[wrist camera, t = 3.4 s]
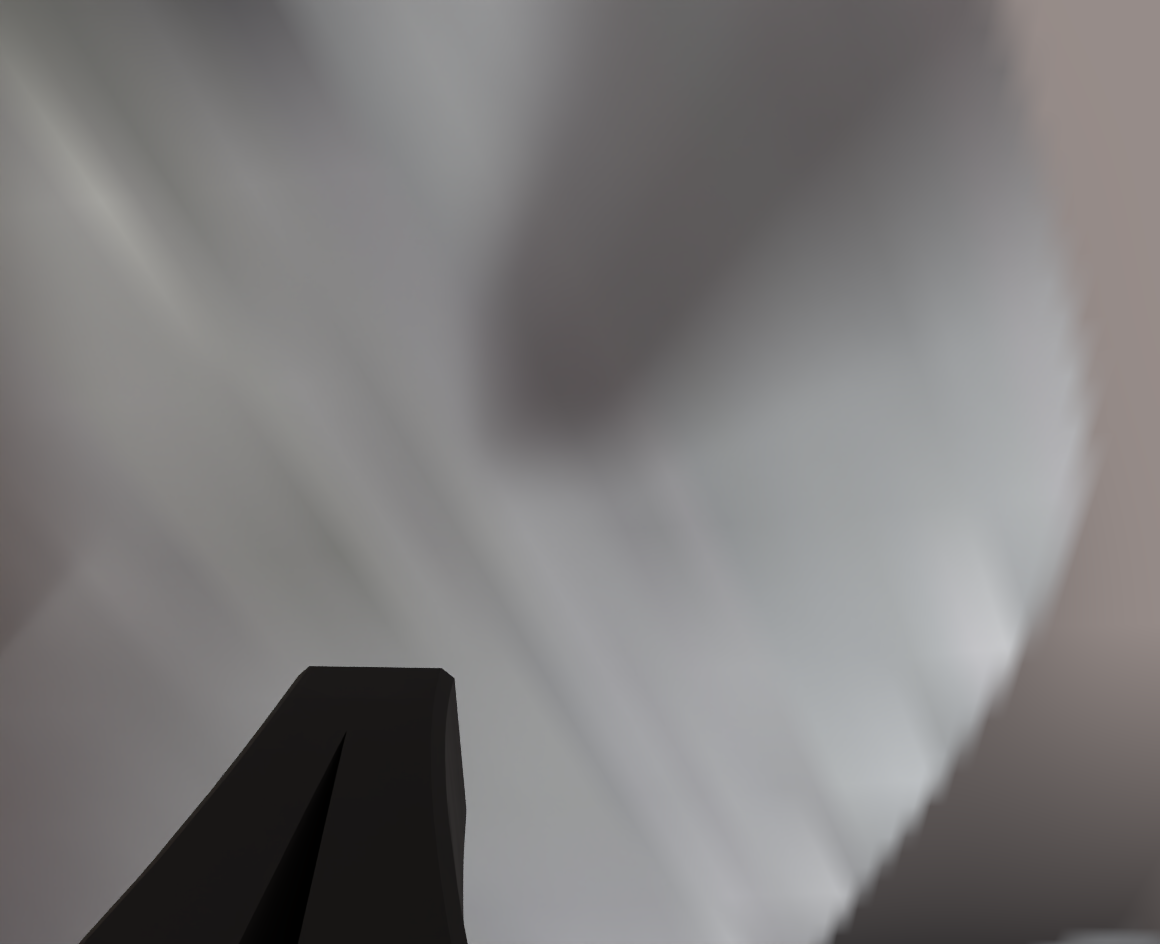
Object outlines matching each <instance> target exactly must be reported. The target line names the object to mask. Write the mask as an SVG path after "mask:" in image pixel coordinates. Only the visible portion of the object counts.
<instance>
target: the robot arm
mask: <svg viewBox="0 0 1160 944" xmlns="http://www.w3.org/2000/svg"><path fill="white" fill-rule="evenodd" d="M465 824H466V800H465V789H464V778H463V767H462V756H461V746H460V735H459V724H458V713H457V702H456V691H455V680H454V678H453V677H452V676H451V675H450V674H448V673H447V672H446V671H444V670H443V669H442V668H391V667H326V666H309V667H308V668H307V669H306V670H304V671H303V672H302V673H301V674H300V675H299V676H298V677H297V679H296V680H295V681H294V683H293V684H292V685H291V687H290V688H289V689H288V691H287V692H286V693H285V695H284V696H283V698H282V699H281V700H280V702H279V703H278V704H277V706H276V707H275V708H274V710H273V711H272V712H271V714H270V715H269V716H268V718H267V719H266V720H265V722H264V723H263V724H262V726H261V727H260V728H259V730H258V731H257V732H256V734H255V735H254V736H253V737H252V739H251V740H250V741H249V743H248V744H247V745H246V747H245V748H244V749H243V751H242V752H241V753H240V754H239V756H238V757H237V758H236V759H235V761H234V762H233V763H232V765H231V766H230V767H229V768H228V770H227V771H226V772H225V773H224V775H223V776H222V777H221V779H220V780H219V781H218V782H217V784H216V785H215V786H214V787H213V789H212V790H211V791H210V792H209V794H208V795H207V796H206V797H205V798H204V800H203V801H202V802H201V803H200V805H199V806H198V807H197V808H196V809H195V811H194V812H193V813H192V814H191V815H190V817H189V818H188V819H187V820H186V821H185V823H184V824H183V825H182V826H181V827H180V829H179V830H178V831H177V832H176V833H175V835H174V836H173V837H172V838H171V840H170V841H169V842H168V843H167V844H166V846H165V847H164V848H163V849H162V850H161V852H160V853H159V854H158V855H157V856H156V858H155V859H154V860H153V861H152V862H151V864H150V865H149V866H148V867H147V868H146V869H145V870H144V872H143V873H142V874H141V875H140V876H139V877H138V879H137V880H136V881H135V882H134V883H133V884H132V885H131V886H130V887H129V889H128V890H127V891H126V892H125V893H124V894H123V895H122V896H121V897H120V899H119V900H118V901H117V902H116V903H115V904H114V905H113V906H112V907H111V908H110V910H109V911H108V912H107V913H106V914H105V915H104V916H103V917H102V918H101V919H100V921H99V922H98V923H97V924H96V925H95V926H94V927H93V928H92V929H91V931H90V932H89V933H88V934H87V935H86V936H85V937H84V938H83V939H82V940H81V942H80V943H79V944H468V943H467V938H466V933H465V928H464V921H463V859H464V839H465Z"/></svg>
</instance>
